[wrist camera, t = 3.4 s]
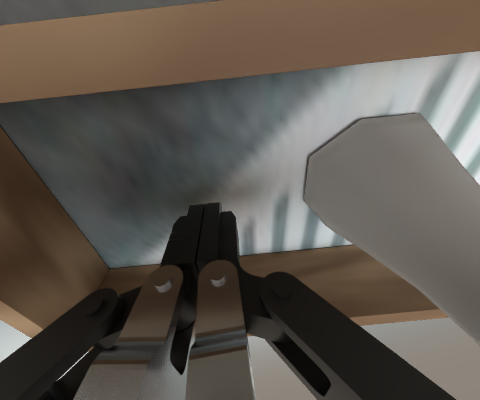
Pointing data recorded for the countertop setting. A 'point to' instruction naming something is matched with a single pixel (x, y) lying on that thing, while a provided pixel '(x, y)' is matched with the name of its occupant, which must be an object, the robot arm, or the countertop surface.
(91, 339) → the robot arm
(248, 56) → the open wooden frame
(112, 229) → the countertop surface
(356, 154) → the flask
